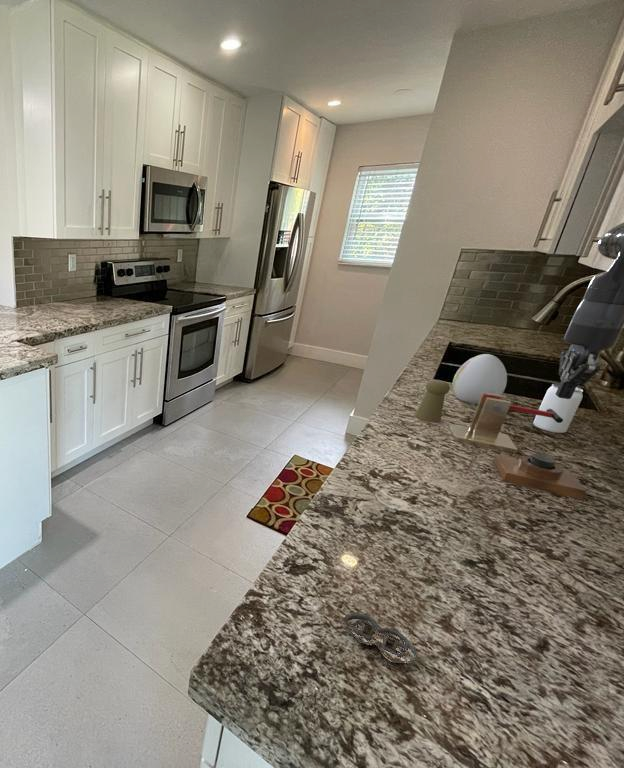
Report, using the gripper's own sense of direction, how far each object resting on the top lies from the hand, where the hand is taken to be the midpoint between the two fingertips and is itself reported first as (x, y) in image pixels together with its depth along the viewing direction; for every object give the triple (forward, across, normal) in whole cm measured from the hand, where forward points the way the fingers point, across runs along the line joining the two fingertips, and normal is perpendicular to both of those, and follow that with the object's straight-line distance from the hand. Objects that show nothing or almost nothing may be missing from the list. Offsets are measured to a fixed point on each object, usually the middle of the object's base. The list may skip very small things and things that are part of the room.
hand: (562, 397), depth 94 cm
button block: (+14, -17, +5) cm, 23 cm away
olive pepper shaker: (+15, +9, +21) cm, 27 cm away
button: (+11, -17, +5) cm, 21 cm away
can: (+14, +19, -7) cm, 25 cm away
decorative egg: (+14, +33, +7) cm, 37 cm away
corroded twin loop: (+15, -78, +35) cm, 87 cm away
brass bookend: (+14, 0, +11) cm, 18 cm away
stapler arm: (+6, 0, +6) cm, 8 cm away
